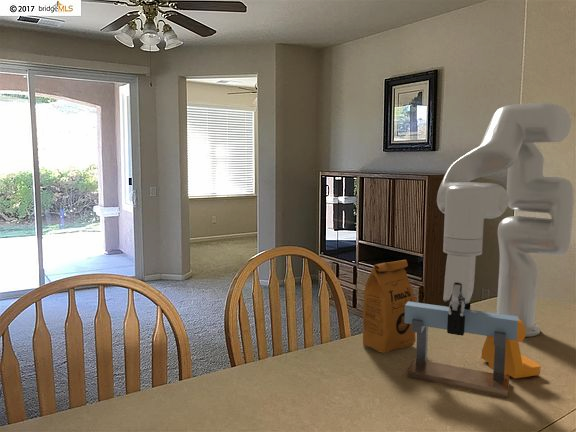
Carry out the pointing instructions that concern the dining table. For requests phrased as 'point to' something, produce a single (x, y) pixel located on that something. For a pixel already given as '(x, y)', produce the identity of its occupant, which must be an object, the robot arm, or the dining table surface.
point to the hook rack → (458, 375)
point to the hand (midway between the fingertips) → (458, 326)
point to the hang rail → (473, 319)
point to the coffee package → (387, 308)
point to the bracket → (512, 356)
